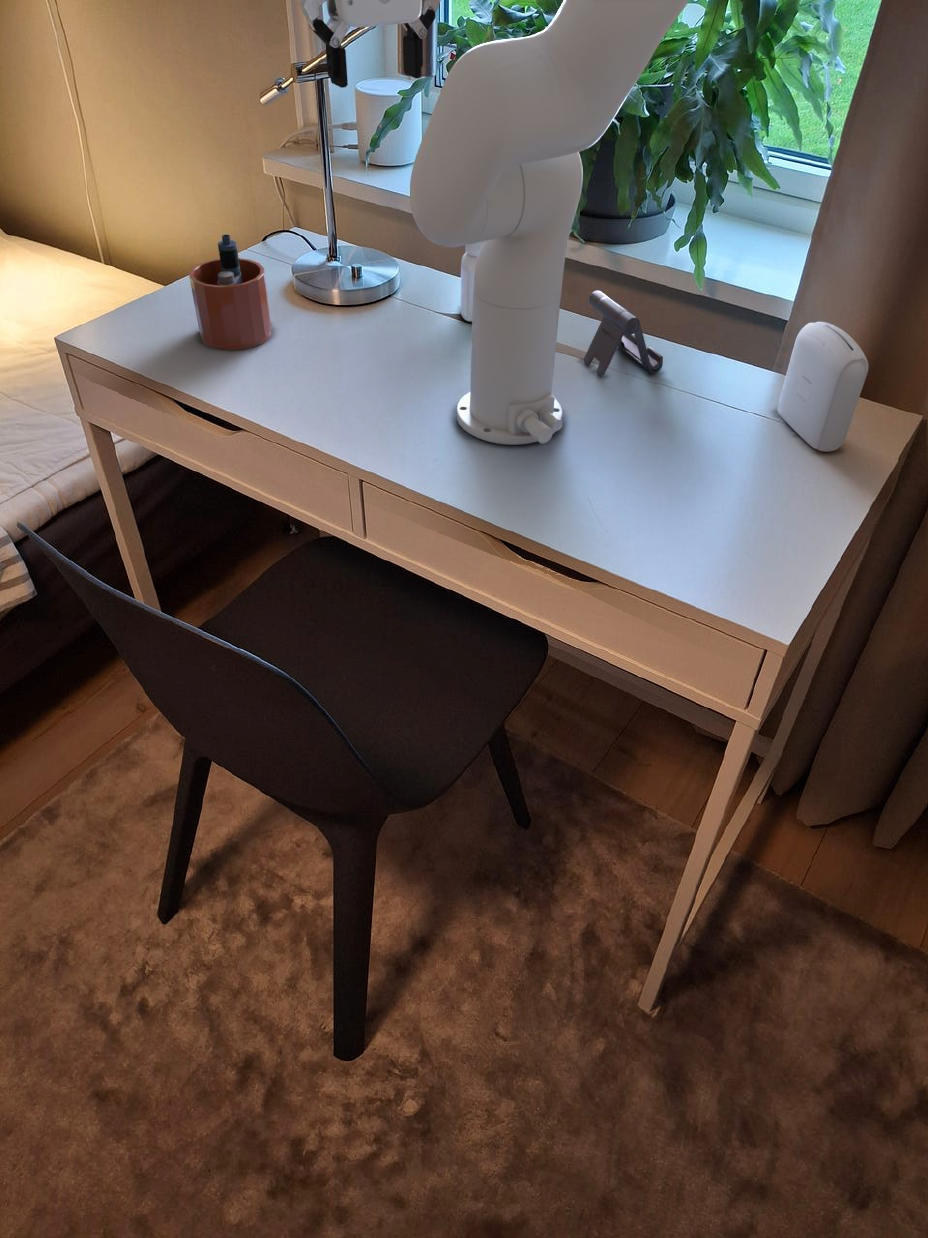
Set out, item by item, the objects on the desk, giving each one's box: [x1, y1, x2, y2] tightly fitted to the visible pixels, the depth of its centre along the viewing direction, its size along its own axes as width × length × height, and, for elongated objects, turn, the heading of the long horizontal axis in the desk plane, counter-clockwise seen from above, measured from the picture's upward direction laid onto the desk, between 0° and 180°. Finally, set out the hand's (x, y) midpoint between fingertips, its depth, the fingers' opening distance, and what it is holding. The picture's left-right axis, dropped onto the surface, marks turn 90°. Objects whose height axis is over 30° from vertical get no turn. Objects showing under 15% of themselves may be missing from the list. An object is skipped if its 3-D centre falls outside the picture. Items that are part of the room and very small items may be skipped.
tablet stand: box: [583, 290, 664, 377], centre depth 118 cm, size 9×8×8 cm
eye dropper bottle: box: [459, 241, 484, 322], centre depth 127 cm, size 4×6×12 cm
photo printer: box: [777, 321, 869, 452], centre depth 106 cm, size 10×4×12 cm, turn 14°
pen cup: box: [189, 257, 273, 351], centre depth 122 cm, size 9×9×8 cm
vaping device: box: [217, 234, 242, 286], centre depth 120 cm, size 3×5×12 cm, turn 177°
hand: (376, 80), depth 109 cm, fingers open, 9 cm apart
